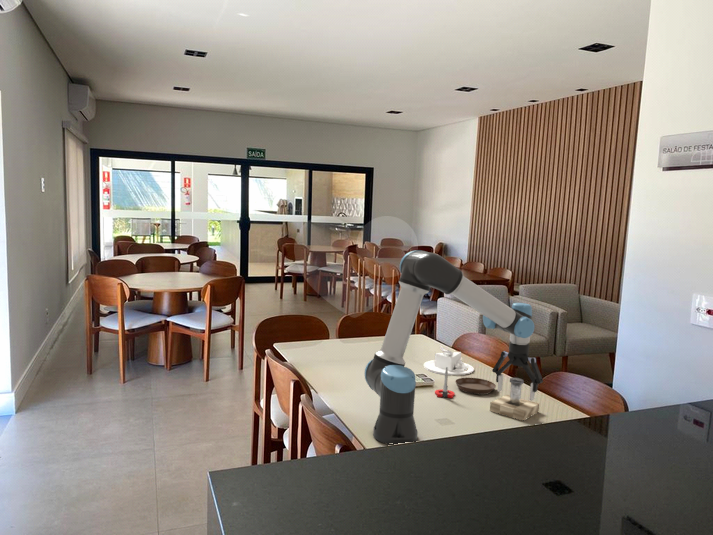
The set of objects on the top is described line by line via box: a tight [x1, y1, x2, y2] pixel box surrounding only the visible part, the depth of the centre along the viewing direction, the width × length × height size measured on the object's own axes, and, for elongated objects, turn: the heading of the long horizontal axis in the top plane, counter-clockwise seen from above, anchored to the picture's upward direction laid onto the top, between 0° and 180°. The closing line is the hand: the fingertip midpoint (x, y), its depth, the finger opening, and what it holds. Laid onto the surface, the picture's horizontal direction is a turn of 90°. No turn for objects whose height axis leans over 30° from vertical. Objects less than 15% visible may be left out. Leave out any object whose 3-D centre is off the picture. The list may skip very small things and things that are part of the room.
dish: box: [423, 345, 475, 376], centre depth 270 cm, size 25×25×11 cm
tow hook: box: [434, 367, 456, 399], centre depth 229 cm, size 8×13×9 cm
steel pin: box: [509, 377, 524, 406], centre depth 212 cm, size 5×5×13 cm
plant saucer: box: [454, 377, 497, 395], centre depth 239 cm, size 18×18×3 cm
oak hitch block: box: [489, 394, 540, 421], centre depth 213 cm, size 14×14×4 cm
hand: (515, 395), depth 212 cm, fingers open, 13 cm apart
